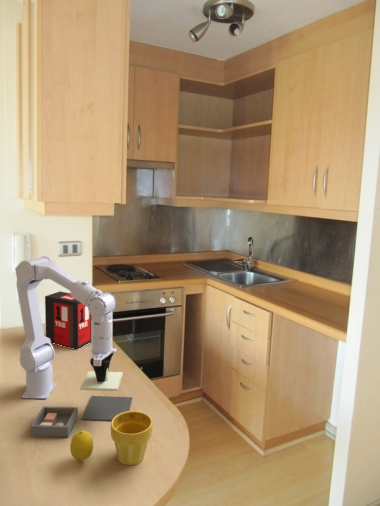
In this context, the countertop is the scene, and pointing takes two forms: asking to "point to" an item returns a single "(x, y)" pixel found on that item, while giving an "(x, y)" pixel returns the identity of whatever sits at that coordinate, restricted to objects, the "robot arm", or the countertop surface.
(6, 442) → the countertop surface
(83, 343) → the cleaning product box
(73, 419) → the storage box
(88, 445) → the lemon
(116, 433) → the plant pot
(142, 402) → the countertop surface
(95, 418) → the mat
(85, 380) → the lid
